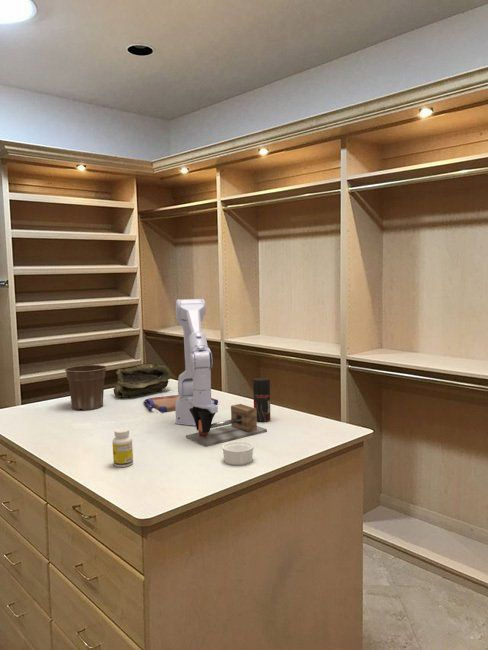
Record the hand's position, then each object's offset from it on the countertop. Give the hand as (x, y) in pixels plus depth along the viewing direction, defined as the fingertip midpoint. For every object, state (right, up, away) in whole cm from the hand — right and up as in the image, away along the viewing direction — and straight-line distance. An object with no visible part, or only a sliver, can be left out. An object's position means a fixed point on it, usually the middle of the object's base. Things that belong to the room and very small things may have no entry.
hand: (203, 430), depth 171 cm
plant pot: (-50, 0, +47) cm, 69 cm away
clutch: (-14, +1, +49) cm, 51 cm away
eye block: (+7, -2, +6) cm, 10 cm away
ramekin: (+11, -5, -19) cm, 22 cm away
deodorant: (+19, -1, +22) cm, 30 cm away
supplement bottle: (-21, -6, -20) cm, 29 cm away
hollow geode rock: (-32, +3, +70) cm, 76 cm away
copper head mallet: (+6, -1, +5) cm, 8 cm away
